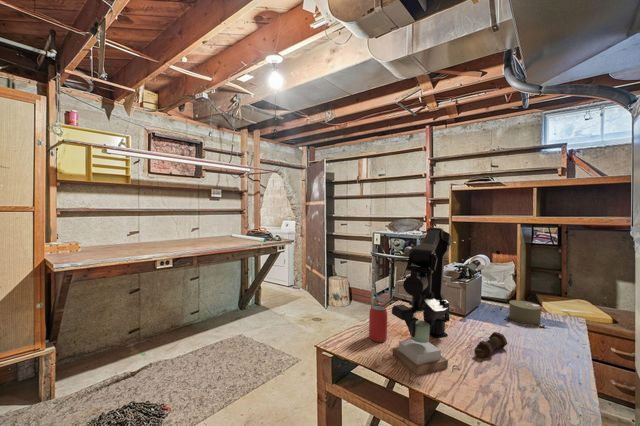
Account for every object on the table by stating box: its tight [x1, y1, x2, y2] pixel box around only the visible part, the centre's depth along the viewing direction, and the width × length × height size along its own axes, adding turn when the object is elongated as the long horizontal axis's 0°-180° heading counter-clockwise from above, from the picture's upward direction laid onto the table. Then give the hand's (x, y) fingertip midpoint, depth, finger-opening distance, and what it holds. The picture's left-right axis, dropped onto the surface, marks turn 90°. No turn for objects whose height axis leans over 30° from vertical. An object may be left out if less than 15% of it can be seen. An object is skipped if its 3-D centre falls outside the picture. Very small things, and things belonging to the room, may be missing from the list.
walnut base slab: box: [392, 346, 449, 376], centre depth 94 cm, size 12×12×3 cm
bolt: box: [473, 331, 508, 358], centre depth 101 cm, size 6×5×15 cm
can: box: [508, 299, 543, 326], centre depth 131 cm, size 12×12×7 cm
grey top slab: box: [398, 339, 442, 365], centre depth 94 cm, size 9×9×3 cm
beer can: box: [368, 304, 388, 343], centre depth 109 cm, size 7×7×12 cm
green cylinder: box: [410, 319, 430, 343], centre depth 94 cm, size 6×6×5 cm
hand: (420, 335), depth 94 cm, fingers closed on green cylinder, 5 cm apart
